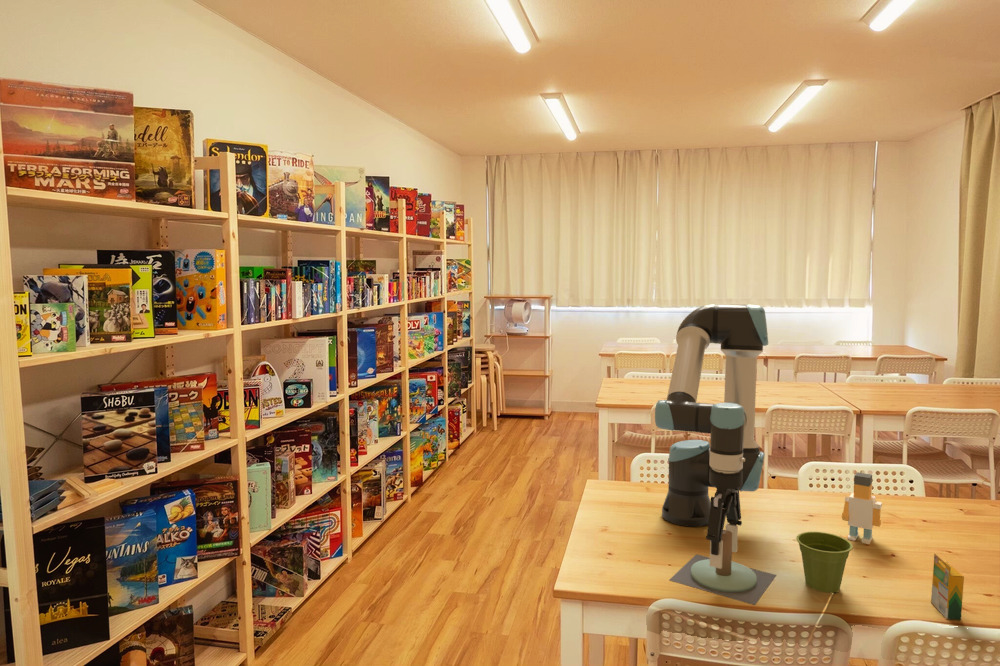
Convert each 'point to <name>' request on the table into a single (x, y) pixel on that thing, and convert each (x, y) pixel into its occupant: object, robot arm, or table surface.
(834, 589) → the plant pot
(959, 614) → the crayon box
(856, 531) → the character figure
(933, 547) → the table surface
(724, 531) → the lid
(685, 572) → the mat
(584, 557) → the table surface
